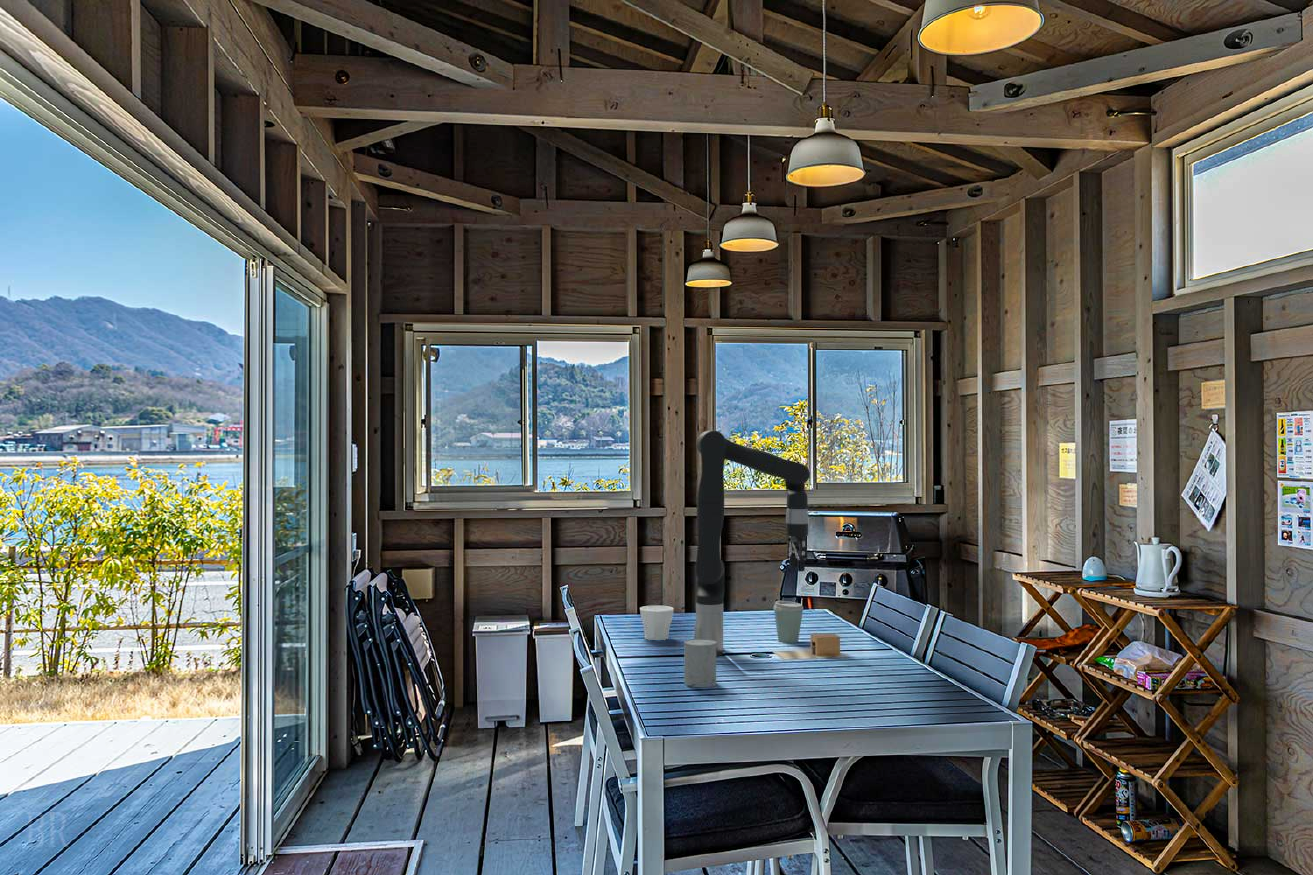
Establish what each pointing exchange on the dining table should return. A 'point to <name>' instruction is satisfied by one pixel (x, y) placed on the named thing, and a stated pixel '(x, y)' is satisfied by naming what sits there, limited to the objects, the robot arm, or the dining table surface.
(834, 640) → the cardboard box
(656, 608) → the cup
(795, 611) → the disposable coffee cup
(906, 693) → the dining table surface
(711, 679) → the grey cylinder
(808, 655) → the board
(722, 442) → the robot arm
